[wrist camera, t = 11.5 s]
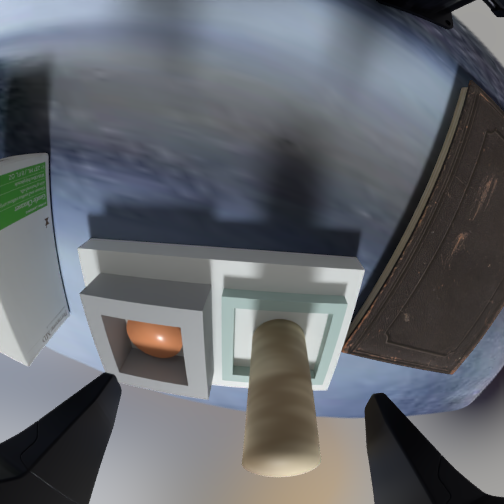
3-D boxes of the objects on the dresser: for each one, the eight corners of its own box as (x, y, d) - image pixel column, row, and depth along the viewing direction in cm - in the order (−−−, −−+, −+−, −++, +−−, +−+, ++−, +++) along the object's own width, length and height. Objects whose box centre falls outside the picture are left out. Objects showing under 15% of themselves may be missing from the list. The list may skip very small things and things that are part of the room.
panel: (356, 257, 19) (379, 294, 14) (323, 374, 24) (331, 417, 19) (91, 238, 20) (54, 266, 15) (117, 352, 24) (97, 387, 20)
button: (183, 307, 19) (179, 316, 18) (187, 353, 21) (185, 361, 20) (126, 300, 19) (121, 307, 18) (136, 344, 21) (132, 352, 20)
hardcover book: (335, 334, 23) (340, 352, 20) (454, 82, 14) (472, 79, 12) (446, 361, 24) (454, 375, 22) (544, 181, 15) (559, 187, 13)
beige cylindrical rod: (308, 320, 19) (329, 448, 10) (300, 358, 20) (311, 476, 11) (254, 317, 19) (243, 448, 10) (251, 356, 21) (241, 475, 11)
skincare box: (50, 149, 17) (75, 313, 23) (4, 155, 17) (31, 300, 23) (-30, 174, 9) (32, 371, 16) (-63, 180, 9) (-11, 348, 16)
